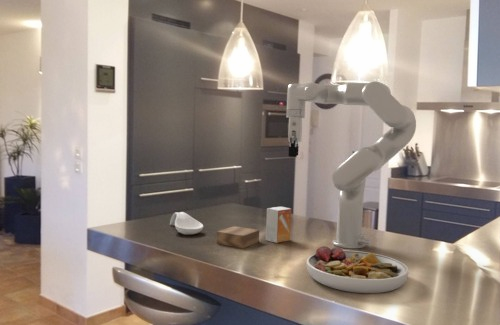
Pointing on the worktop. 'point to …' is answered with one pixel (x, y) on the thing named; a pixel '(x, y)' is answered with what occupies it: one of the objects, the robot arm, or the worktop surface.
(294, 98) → the robot arm
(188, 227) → the spoon rest
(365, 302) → the worktop surface
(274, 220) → the small box
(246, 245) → the tan block
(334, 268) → the bowl
